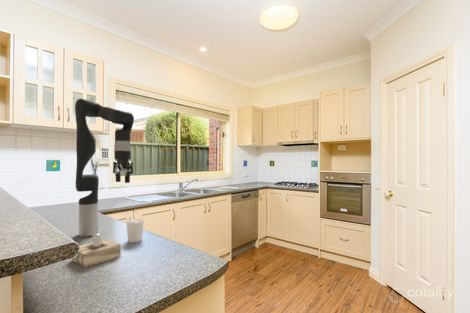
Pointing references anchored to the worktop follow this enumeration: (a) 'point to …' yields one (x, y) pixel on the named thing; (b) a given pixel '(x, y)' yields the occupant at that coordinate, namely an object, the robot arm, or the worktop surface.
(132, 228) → the white cup
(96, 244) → the steel pin
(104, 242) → the wooden peg hole block
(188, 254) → the worktop surface
